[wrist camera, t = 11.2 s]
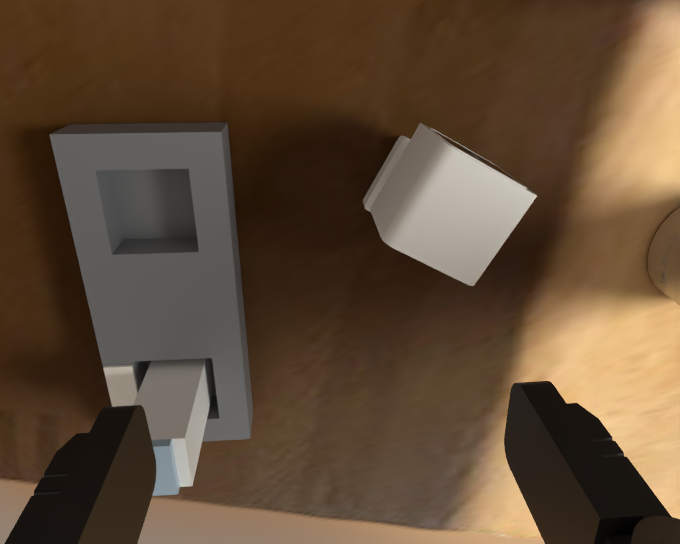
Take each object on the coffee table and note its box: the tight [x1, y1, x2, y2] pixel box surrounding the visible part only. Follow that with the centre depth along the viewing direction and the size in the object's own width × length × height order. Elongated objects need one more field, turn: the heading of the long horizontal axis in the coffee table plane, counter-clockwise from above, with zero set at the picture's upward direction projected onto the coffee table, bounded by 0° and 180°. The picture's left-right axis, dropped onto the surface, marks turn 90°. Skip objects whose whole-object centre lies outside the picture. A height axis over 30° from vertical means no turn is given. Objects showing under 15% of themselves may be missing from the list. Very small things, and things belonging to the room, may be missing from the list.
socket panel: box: [49, 122, 253, 441], centre depth 38 cm, size 10×24×4 cm, turn 0°
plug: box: [133, 358, 213, 496], centre depth 38 cm, size 4×4×11 cm
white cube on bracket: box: [363, 123, 537, 286], centre depth 33 cm, size 6×7×10 cm
